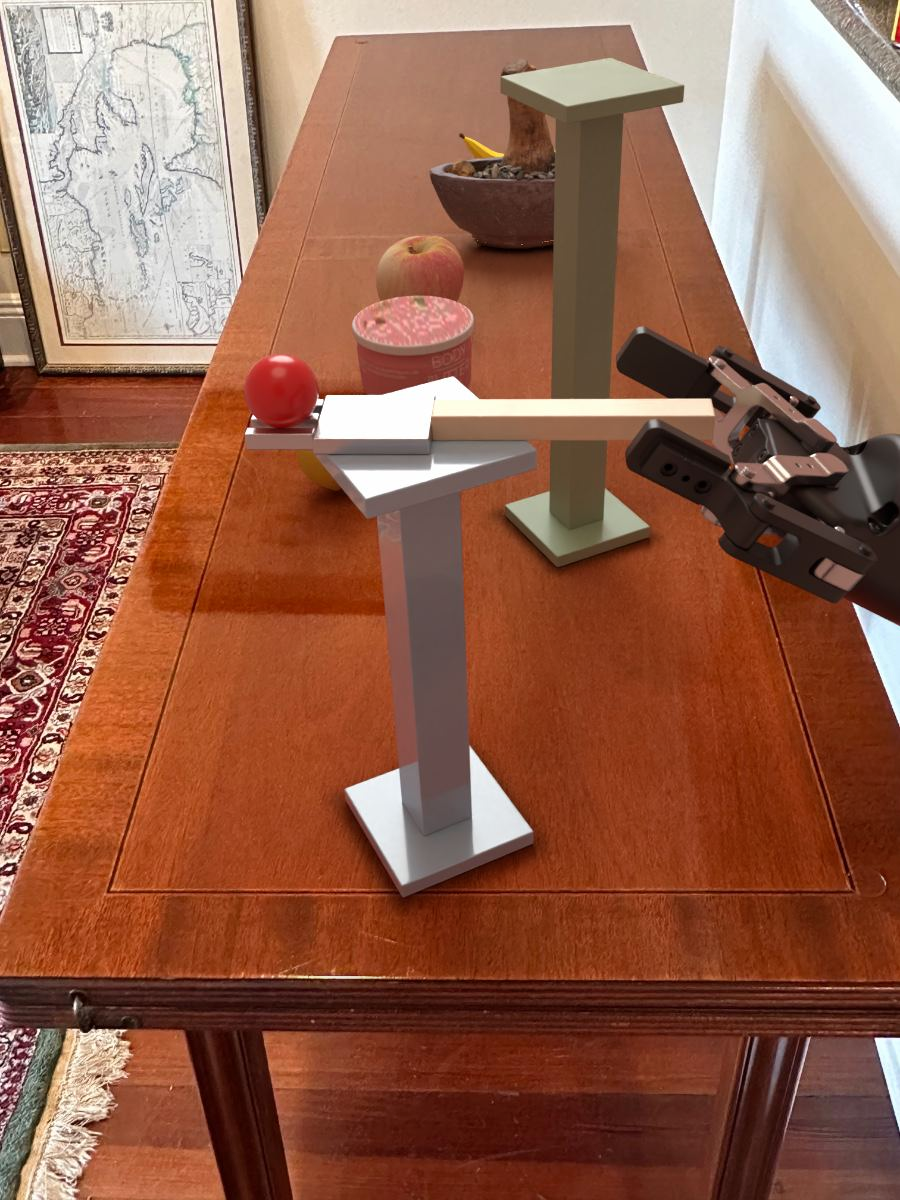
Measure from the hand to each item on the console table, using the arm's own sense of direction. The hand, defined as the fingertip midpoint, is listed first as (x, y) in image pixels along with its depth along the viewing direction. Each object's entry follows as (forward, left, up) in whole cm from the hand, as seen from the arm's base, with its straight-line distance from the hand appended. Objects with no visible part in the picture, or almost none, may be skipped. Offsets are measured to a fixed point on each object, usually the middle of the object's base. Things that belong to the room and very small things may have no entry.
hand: (630, 390), depth 50 cm
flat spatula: (+3, +6, -2) cm, 7 cm away
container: (+50, -12, -27) cm, 59 cm away
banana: (+98, -51, -27) cm, 114 cm away
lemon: (+40, 0, -27) cm, 49 cm away
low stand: (+5, +8, -27) cm, 29 cm away
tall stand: (+26, -14, -27) cm, 40 cm away
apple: (+66, -20, -27) cm, 75 cm away
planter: (+79, -39, -27) cm, 93 cm away
